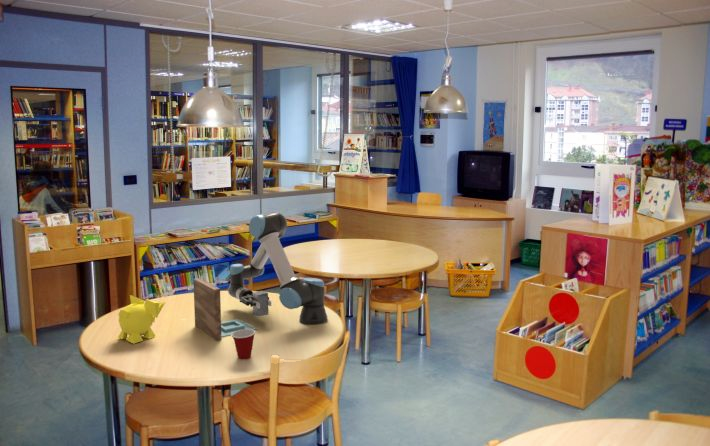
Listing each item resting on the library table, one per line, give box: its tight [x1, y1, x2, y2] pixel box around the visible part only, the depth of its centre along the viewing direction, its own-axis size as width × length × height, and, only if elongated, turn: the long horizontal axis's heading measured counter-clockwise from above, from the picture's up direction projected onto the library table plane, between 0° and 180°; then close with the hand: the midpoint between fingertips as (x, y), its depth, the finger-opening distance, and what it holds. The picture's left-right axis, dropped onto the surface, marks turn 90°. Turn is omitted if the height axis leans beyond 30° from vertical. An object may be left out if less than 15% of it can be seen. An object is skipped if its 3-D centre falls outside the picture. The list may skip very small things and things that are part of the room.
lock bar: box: [252, 290, 269, 317], centre depth 330 cm, size 6×6×12 cm
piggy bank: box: [117, 294, 166, 345], centre depth 305 cm, size 20×20×19 cm
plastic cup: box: [230, 329, 256, 360], centre depth 280 cm, size 11×11×12 cm
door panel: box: [192, 277, 223, 341], centre depth 311 cm, size 4×26×26 cm, turn 37°
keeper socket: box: [221, 318, 257, 338], centre depth 321 cm, size 20×20×2 cm
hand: (265, 304), depth 326 cm, fingers closed on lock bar, 6 cm apart
